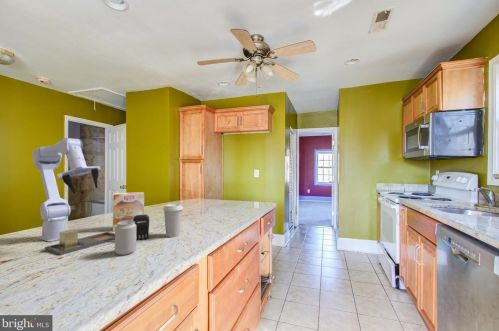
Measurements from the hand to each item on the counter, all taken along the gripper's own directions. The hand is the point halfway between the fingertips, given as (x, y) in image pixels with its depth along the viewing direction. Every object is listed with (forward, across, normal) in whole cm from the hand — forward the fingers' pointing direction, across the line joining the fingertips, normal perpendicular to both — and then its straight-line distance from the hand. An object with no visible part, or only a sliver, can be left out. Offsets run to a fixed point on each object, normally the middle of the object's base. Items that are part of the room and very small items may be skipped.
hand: (85, 189), depth 94 cm
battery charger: (+25, +15, +15) cm, 33 cm away
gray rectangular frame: (+16, -4, +20) cm, 26 cm away
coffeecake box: (+12, +15, +37) cm, 41 cm away
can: (+30, +6, +2) cm, 31 cm away
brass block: (+16, -11, +17) cm, 26 cm away
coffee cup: (+29, +29, +15) cm, 43 cm away
